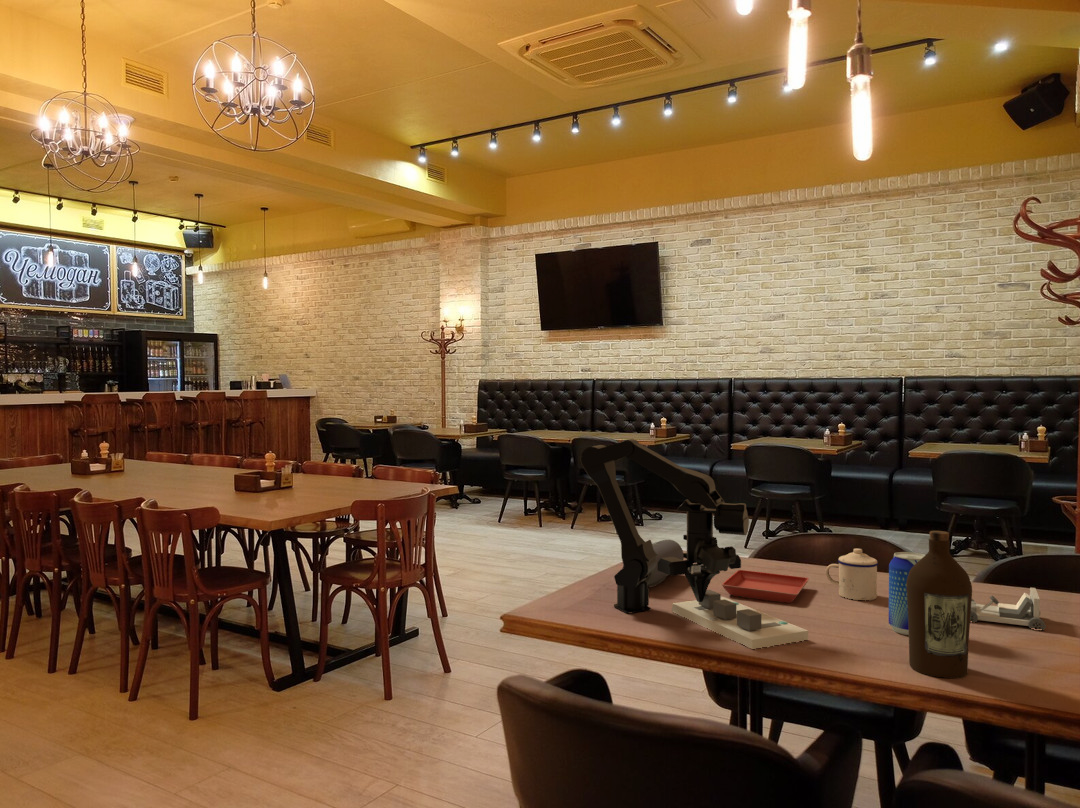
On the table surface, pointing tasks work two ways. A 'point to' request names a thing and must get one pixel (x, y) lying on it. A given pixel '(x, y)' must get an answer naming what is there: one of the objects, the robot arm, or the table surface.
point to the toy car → (1011, 611)
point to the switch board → (768, 635)
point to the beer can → (900, 589)
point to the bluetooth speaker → (663, 550)
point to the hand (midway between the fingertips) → (699, 601)
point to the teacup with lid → (856, 576)
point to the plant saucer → (764, 585)
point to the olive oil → (939, 612)
